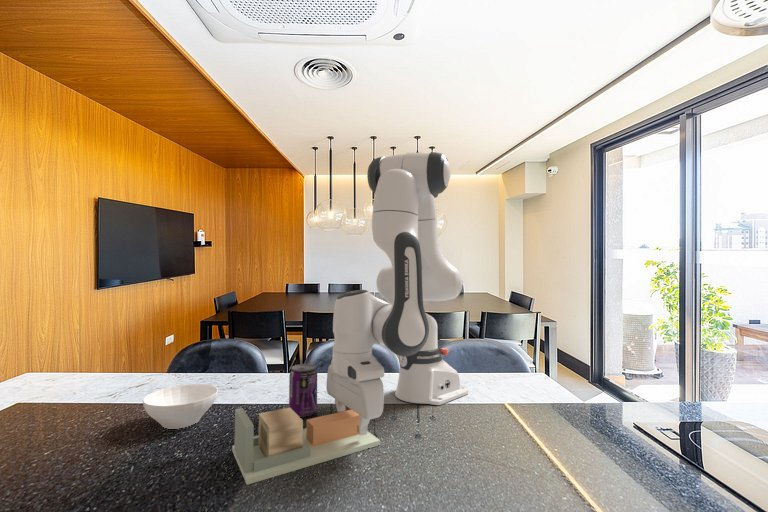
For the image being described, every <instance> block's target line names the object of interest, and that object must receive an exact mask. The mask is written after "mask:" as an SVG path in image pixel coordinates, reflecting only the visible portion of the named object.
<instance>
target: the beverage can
mask: <svg viewBox="0 0 768 512" xmlns="http://www.w3.org/2000/svg"><path fill="white" fill-rule="evenodd" d="M288 379H289V382H288V383H289V385H288V388H289V390H288V395H289V396H288V408H289V407H290V408H291V409H292V410H293V411H294V412H295V413H296V414H297V415H298V416H299V417H302V418H306V417H305V416H308V417H310V416H312V415H314V414H315V413H317V411H318V371H317V369H316V365H314V364H311V363H310V364H309V363H301V364H295V365H292V366H291V371H290V372H289V378H288ZM309 415H310V416H309Z"/></svg>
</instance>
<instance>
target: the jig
mask: <svg viewBox="0 0 768 512" xmlns="http://www.w3.org/2000/svg"><path fill="white" fill-rule="evenodd" d="M254 430H255V427H254V424H253V422H252V420H251V419H250V417H249V416H248V414H247V413H246V411H245V410H244V408H243V407H239V408H235V409H234V445H232V446H231V447H232V448H231V451H232V453H233V454H232V455H233V456H234V459H235V460H236V463H237V465H238V467H239V470H240V472H241V475H242V478H243V479H244V482H245V484H246V486H247V485H251V484H254V483H258V482H261V481H265V480H267V479H271V478H274V477H278V476H282V475H285V474H287V473H291V472H294V471H297V470H301V469H304V468H308V467H312V466H314V465H319V464H322V463H324V462H328V461H332V460H335V459H339V458H341V457H344V456H348V455H352V454H355V453H358V452H362V451H365V450H369V449H371V448H375V447H378V445H379V446H381V440H380V439H379V438H377V437H376V436H375V435H374V434H373V433H371V432H370V431H368V430H367V434H365V435H360V434H357V435H353V436H350V437H346V438H342V439H339V440H335V441H331V442H327V443H324V444H320V445H316V446H313V445H312V444H311V443H310V442H309V441H308V440H307V439H306V427H305V428H303V448H299V449H295V450H292V451H288V452H284V453H280V454H277V455H273V456H269V457H265V456H264V455H263V453H262V451H261V449H260V448H259V446H258V441H259V434H258V435H255V431H254ZM368 448H369V449H368Z"/></svg>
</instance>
